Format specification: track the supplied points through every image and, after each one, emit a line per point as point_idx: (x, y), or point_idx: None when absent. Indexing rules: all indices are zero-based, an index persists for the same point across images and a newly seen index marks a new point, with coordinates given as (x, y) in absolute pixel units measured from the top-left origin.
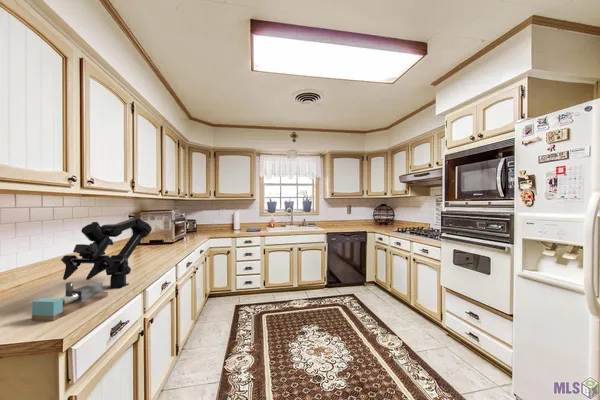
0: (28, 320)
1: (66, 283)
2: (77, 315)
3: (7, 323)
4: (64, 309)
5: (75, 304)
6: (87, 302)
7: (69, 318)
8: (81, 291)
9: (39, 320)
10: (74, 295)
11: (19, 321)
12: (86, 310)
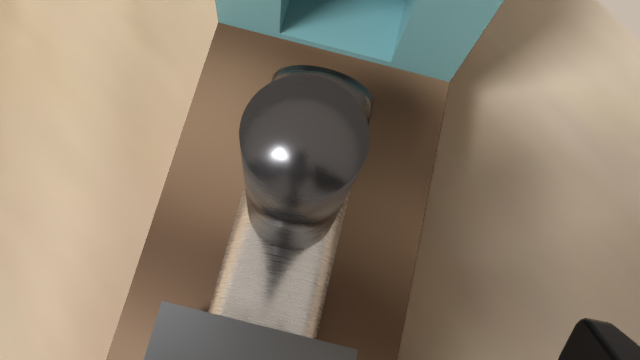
0: (485, 48)
1: (349, 109)
2: (100, 70)
3: (608, 24)
4: (241, 85)
5: (207, 221)
6: (122, 328)
7: (139, 16)
8: (170, 305)
9: None
10: (240, 241)
11: (545, 43)
12: (72, 186)
